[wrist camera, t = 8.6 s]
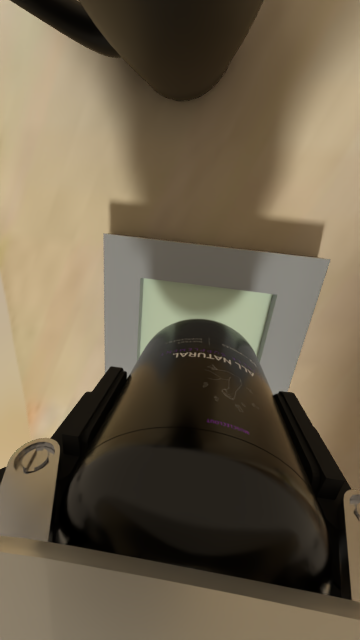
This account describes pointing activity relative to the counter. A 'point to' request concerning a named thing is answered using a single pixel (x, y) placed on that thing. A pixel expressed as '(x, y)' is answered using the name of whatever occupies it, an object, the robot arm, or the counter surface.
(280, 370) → the picture frame
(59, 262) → the counter surface
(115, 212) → the counter surface
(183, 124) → the counter surface
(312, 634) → the robot arm
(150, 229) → the counter surface
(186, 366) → the supplement bottle
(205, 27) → the mug
